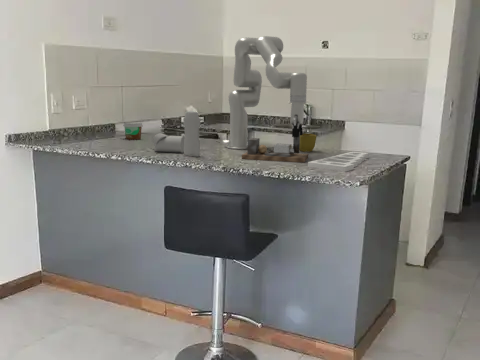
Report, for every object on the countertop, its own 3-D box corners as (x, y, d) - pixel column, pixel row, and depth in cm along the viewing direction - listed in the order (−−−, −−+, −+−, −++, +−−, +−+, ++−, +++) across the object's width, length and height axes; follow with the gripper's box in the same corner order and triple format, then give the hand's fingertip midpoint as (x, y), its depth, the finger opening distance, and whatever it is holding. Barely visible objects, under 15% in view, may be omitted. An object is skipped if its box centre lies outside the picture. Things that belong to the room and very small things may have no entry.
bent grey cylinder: (141, 150, 275) (179, 151, 270) (143, 129, 275) (180, 130, 271) (154, 153, 292) (190, 154, 288) (156, 133, 292) (191, 135, 288)
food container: (119, 139, 326) (119, 123, 324) (124, 138, 332) (124, 122, 330) (138, 140, 323) (137, 123, 321) (142, 139, 329) (142, 123, 327)
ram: (273, 152, 257) (274, 131, 255) (277, 150, 264) (277, 130, 262) (297, 153, 254) (298, 132, 252) (300, 151, 261) (301, 131, 259)
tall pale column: (181, 155, 268) (180, 110, 264) (186, 154, 271) (186, 110, 267) (197, 157, 262) (197, 111, 258) (202, 156, 265) (202, 111, 261)
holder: (351, 156, 274) (352, 151, 273) (385, 160, 263) (386, 155, 263) (307, 168, 238) (307, 162, 238) (344, 173, 228) (345, 166, 227)
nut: (256, 154, 261) (257, 145, 260) (258, 153, 265) (259, 144, 264) (265, 154, 259) (266, 145, 259) (267, 153, 264) (267, 144, 263)
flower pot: (300, 152, 282) (301, 135, 281) (294, 150, 291) (295, 133, 289) (316, 152, 285) (317, 135, 283) (309, 150, 293) (310, 133, 291)
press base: (241, 159, 258) (241, 140, 256) (248, 155, 271) (249, 137, 270) (304, 162, 250) (304, 143, 249) (308, 158, 264) (309, 139, 262)
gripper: (293, 99, 262) (292, 134, 265) (286, 100, 245) (286, 137, 248) (308, 99, 260) (307, 134, 263) (303, 100, 244) (302, 138, 247)
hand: (297, 136), depth 256 cm, fingers open, 9 cm apart
